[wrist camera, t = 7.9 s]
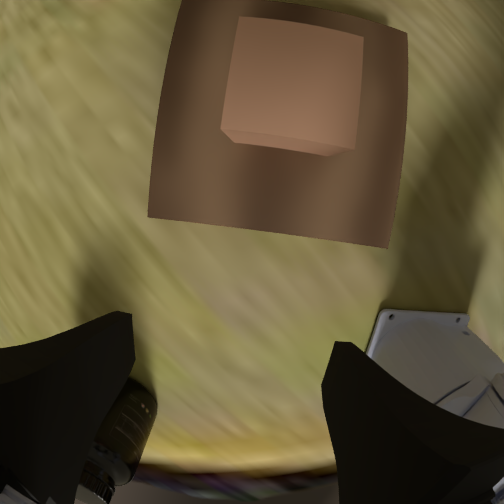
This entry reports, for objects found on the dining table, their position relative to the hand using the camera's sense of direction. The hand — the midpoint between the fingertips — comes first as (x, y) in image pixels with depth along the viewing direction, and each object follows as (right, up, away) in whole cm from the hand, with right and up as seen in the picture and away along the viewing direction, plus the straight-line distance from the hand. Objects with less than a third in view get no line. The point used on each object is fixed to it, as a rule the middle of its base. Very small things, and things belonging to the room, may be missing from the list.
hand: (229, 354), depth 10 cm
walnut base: (+3, +12, +7) cm, 14 cm away
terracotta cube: (+3, +11, +4) cm, 12 cm away
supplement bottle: (-11, -10, +14) cm, 21 cm away
